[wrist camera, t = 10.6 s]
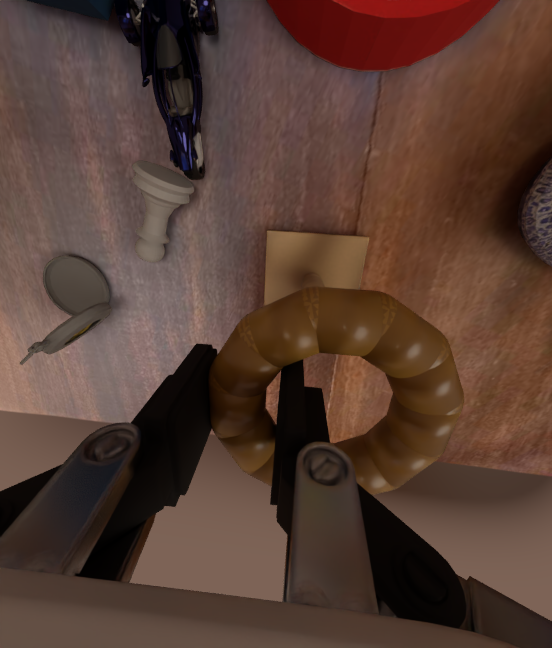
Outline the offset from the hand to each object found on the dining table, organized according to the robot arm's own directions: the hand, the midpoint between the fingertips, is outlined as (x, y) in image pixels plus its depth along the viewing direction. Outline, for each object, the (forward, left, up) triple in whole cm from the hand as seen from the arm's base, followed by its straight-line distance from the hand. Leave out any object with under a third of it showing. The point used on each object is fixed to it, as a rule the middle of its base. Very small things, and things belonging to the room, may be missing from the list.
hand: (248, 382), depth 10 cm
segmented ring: (-3, 0, +1) cm, 3 cm away
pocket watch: (+20, +3, -18) cm, 27 cm away
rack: (-3, 0, -17) cm, 18 cm away
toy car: (+8, -14, -18) cm, 24 cm away
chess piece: (+9, -9, -15) cm, 20 cm away
